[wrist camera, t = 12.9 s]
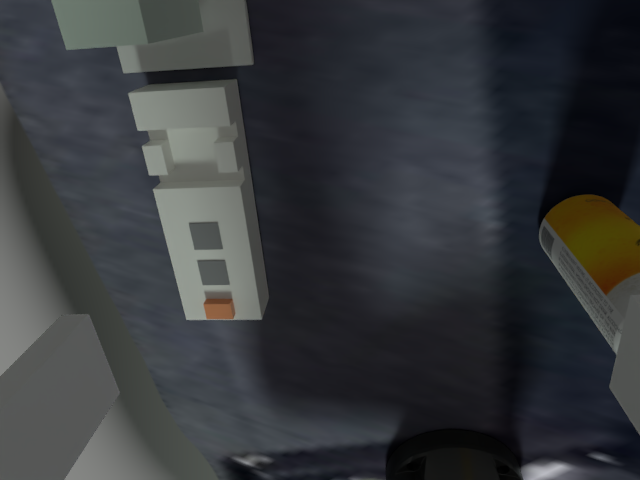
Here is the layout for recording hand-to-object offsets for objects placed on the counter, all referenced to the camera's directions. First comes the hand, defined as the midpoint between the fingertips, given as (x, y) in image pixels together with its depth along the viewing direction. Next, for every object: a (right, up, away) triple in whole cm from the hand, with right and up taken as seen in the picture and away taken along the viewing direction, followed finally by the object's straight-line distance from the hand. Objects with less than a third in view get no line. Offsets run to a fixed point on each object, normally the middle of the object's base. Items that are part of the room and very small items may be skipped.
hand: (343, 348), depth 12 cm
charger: (-11, +20, +20) cm, 30 cm away
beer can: (+20, +4, +26) cm, 34 cm away
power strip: (-10, +6, +28) cm, 30 cm away
